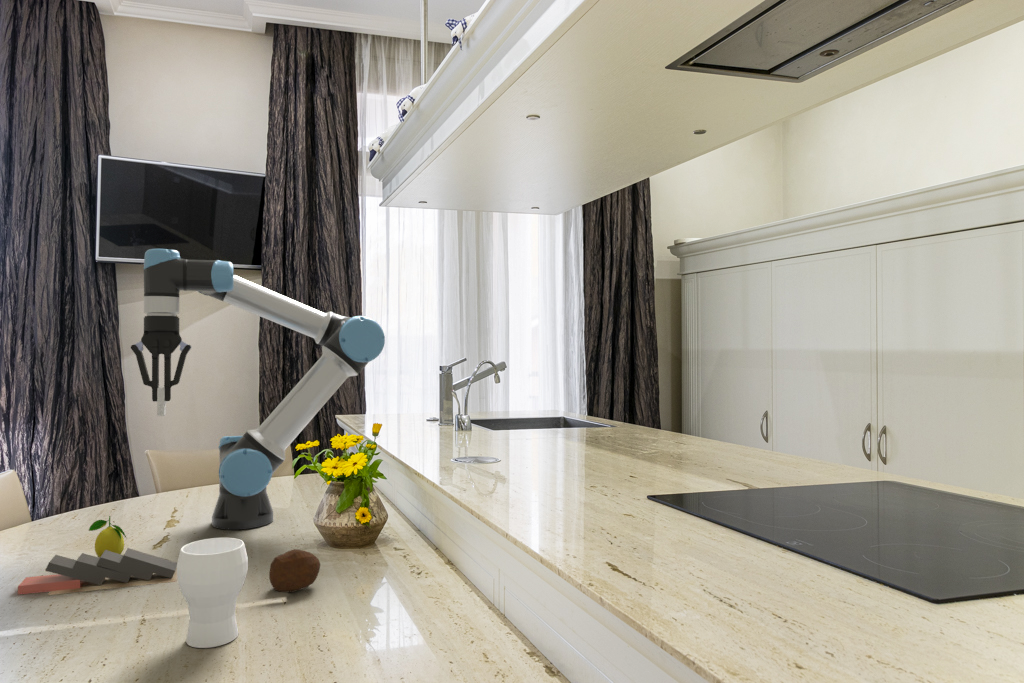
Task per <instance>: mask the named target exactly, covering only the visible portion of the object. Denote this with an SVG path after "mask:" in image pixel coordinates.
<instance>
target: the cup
mask: <svg viewBox="0 0 1024 683" xmlns="http://www.w3.org/2000/svg"><path fill="white" fill-rule="evenodd" d="M176 563H177V567H176V568H177V581H176V582H177V585H178V587H179V589H180V593H181V595H182V596H183V598H184V600H185V601H186V603H187V605H188V606H187V608H188V613H189V621H188V627H187V634H186V639H185V640H186V645H188V646H190V647H193V648H199V649H207V648H215V647H220V646H224V645H226V644H229V643H230V642H232V641H234V640H235V639H236V638H238V636H239V630H238V629H239V628H238V623H237V617H236V616H237V615H236V608H237V601H238V596H239V595H240V592H241V591H242V588H243V586H244V583H245V581H246V577H247V575H248V569H249V567H248V566H249V558H248V554H247V549H246V544H245V543H244V541H243V540H242V539H239V538H235V537H212V538H204V539H200V540H195V541H192V542H190V543H186V544H185V545H182V547H181V548H180V549H179V554H178V558H177V562H176Z"/></svg>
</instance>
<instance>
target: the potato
mask: <svg viewBox="0 0 1024 683" xmlns="http://www.w3.org/2000/svg"><path fill="white" fill-rule="evenodd" d="M320 570H321V562H320V560H319V558H318V557H317V556H316V555H315V554H313V553H311V552H310V551H307V550H302V549H298V548H297V549H295V548H294V549H291V550H288V551H285V553H281V554H280V555H277V556H275V557H274V558H273V560H272V561H271V563H270V567H269V575H268V578H269V582H270V585H271V586H272V588H273V589H274V590H275V591H278V592H283V593H285V592H287V593H288V594H289V593H293V592H296V591H299V590H303V589H307V588H308V587H309V586H311V585H313V583H314V582H315V581H316V580H317V577H318V576H319V573H320Z"/></svg>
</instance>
